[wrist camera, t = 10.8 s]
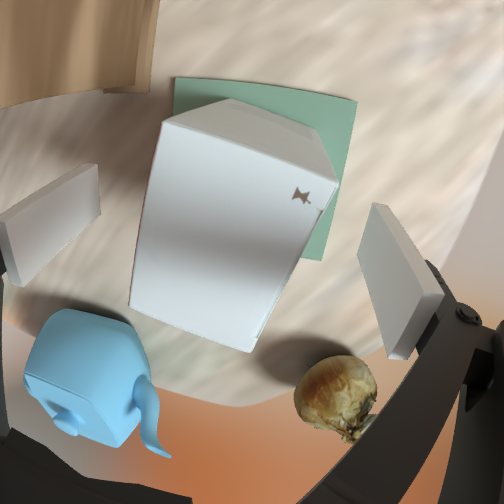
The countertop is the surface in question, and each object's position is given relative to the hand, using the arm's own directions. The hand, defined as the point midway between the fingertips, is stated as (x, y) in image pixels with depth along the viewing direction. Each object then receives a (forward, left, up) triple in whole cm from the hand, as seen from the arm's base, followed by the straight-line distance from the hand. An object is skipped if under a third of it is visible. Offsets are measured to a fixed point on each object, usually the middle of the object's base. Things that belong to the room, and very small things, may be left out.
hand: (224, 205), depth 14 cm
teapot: (-11, -21, -7) cm, 25 cm away
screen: (-8, +13, -7) cm, 17 cm away
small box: (0, 0, -6) cm, 6 cm away
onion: (+10, -17, -7) cm, 21 cm away
